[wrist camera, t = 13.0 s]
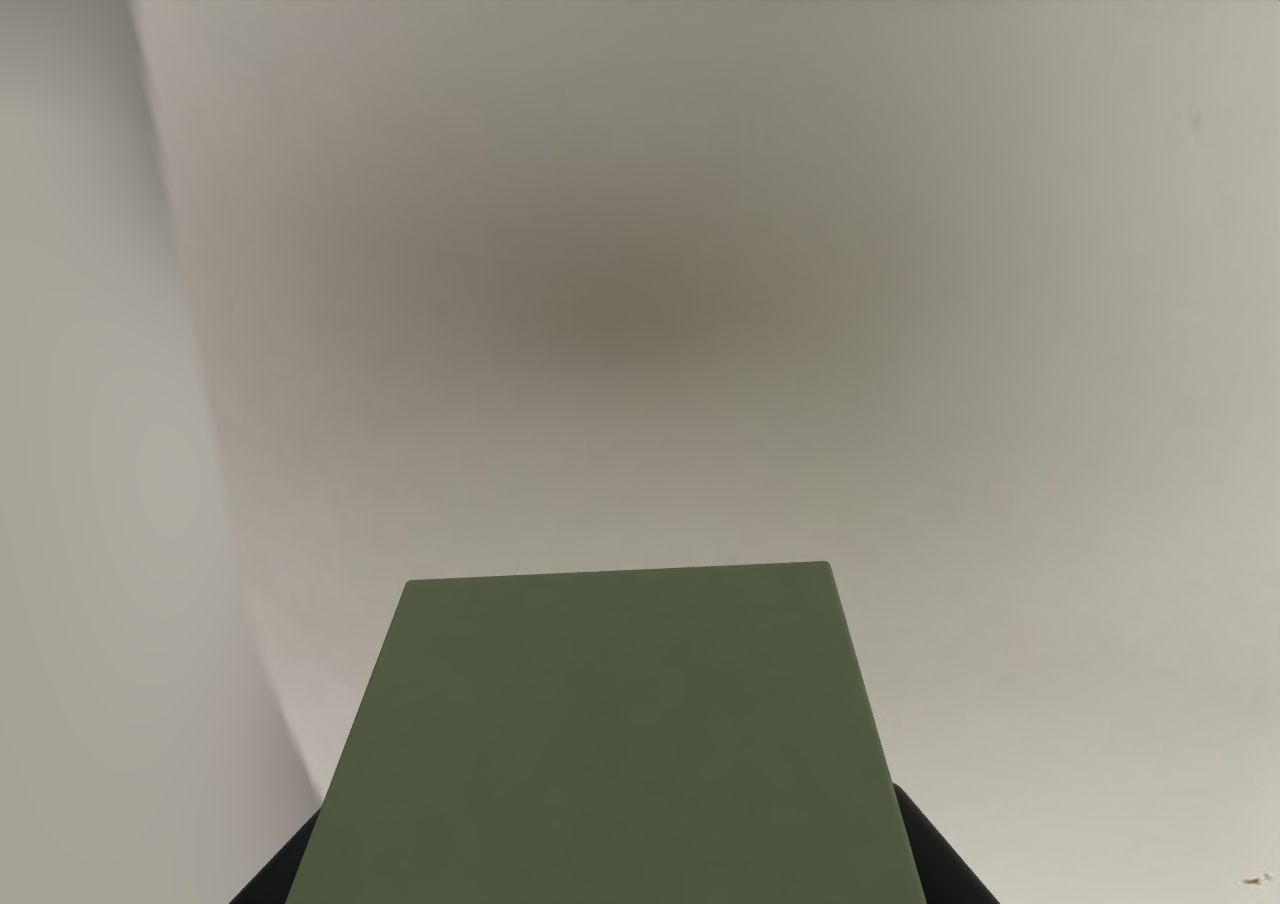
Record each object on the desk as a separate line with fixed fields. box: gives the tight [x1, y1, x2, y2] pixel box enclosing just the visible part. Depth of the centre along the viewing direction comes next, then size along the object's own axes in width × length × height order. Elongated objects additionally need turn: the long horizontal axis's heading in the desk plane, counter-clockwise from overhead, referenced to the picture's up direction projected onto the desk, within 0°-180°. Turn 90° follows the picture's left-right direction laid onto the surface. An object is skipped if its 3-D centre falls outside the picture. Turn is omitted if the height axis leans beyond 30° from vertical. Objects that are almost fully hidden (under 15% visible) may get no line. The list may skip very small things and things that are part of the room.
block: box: [285, 561, 927, 904], centre depth 8 cm, size 4×4×4 cm
